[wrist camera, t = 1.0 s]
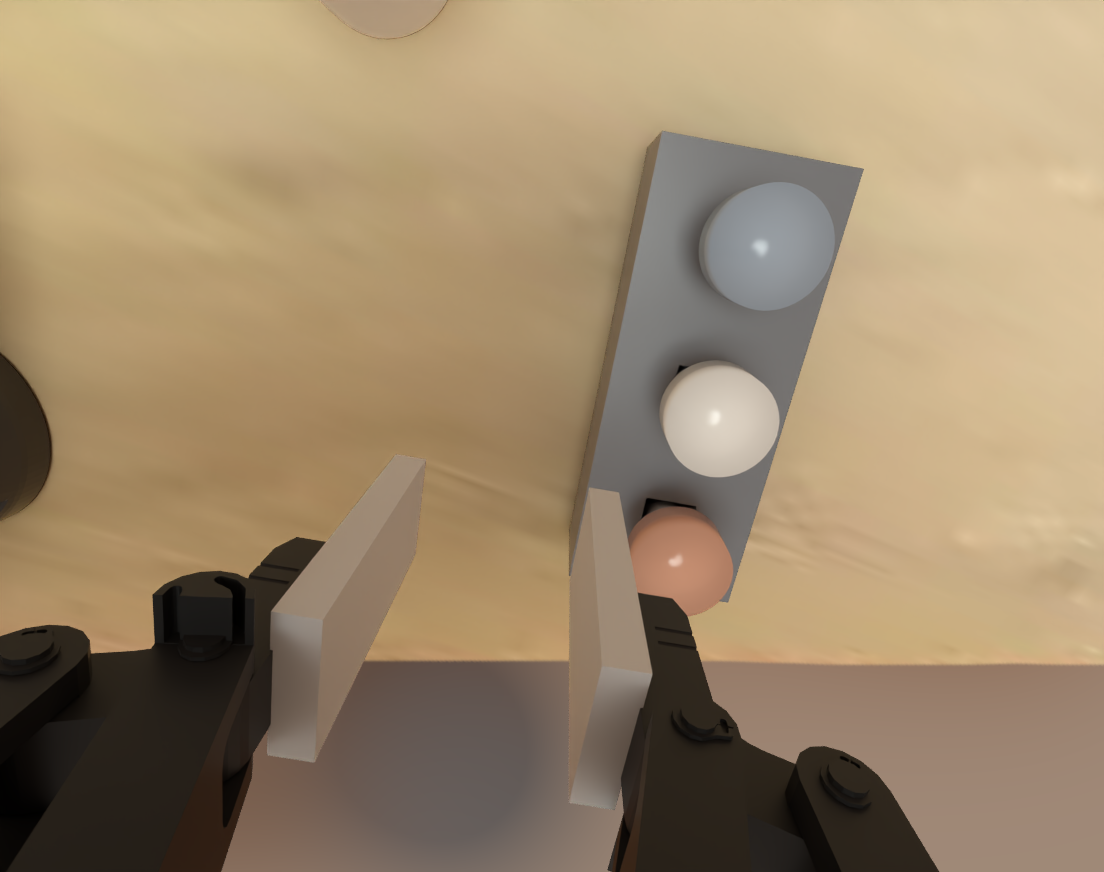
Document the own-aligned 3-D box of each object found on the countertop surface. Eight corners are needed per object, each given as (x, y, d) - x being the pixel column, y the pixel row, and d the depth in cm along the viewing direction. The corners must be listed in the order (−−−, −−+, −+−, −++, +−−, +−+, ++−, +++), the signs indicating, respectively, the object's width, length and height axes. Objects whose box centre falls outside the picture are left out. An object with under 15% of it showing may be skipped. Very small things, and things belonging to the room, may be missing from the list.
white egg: (638, 421, 36) (655, 467, 29) (658, 335, 34) (681, 361, 27) (724, 436, 36) (761, 485, 29) (748, 351, 34) (793, 381, 27)
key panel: (569, 530, 43) (569, 575, 37) (647, 147, 35) (662, 130, 29) (707, 553, 43) (727, 602, 37) (816, 179, 35) (863, 168, 29)
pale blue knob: (670, 285, 33) (696, 299, 26) (693, 185, 32) (728, 171, 25) (762, 302, 33) (812, 320, 26) (790, 203, 32) (851, 194, 25)
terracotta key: (611, 539, 38) (620, 607, 31) (628, 464, 37) (642, 519, 30) (691, 553, 38) (718, 624, 31) (712, 479, 37) (745, 536, 30)
